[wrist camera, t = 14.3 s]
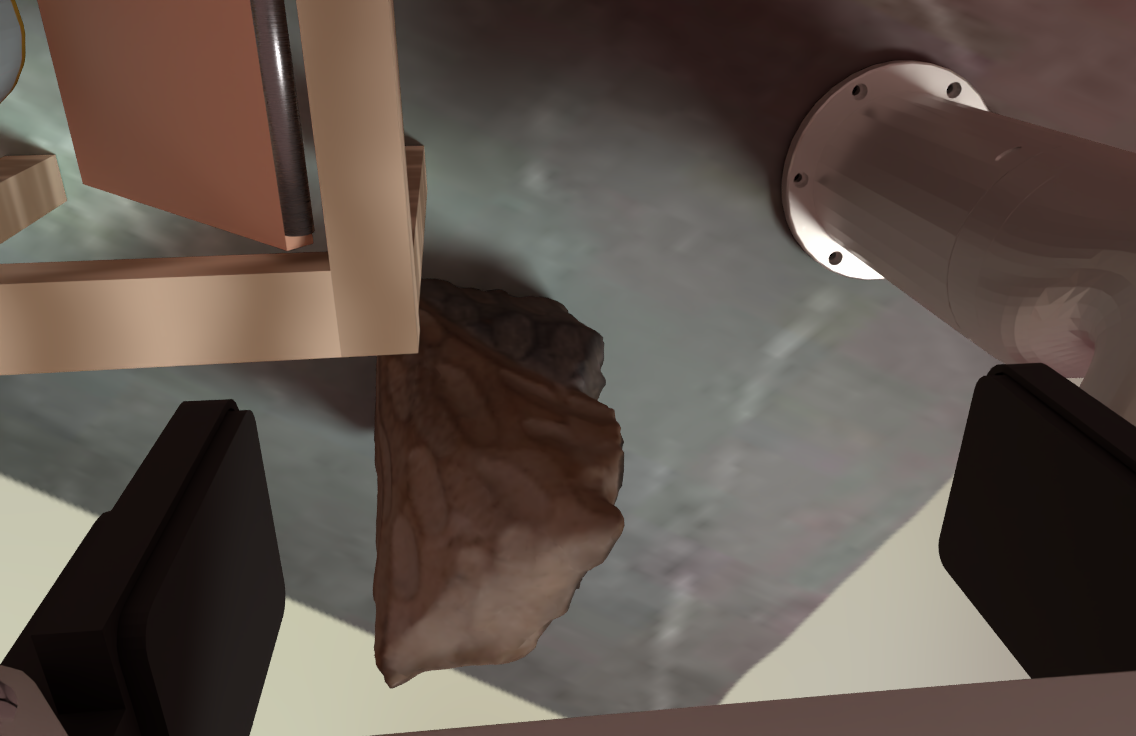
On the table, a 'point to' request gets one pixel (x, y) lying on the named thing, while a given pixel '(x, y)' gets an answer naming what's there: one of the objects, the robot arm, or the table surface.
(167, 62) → the trapdoor
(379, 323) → the trapdoor frame
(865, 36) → the table surface
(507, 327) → the tree stump
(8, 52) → the bottle
